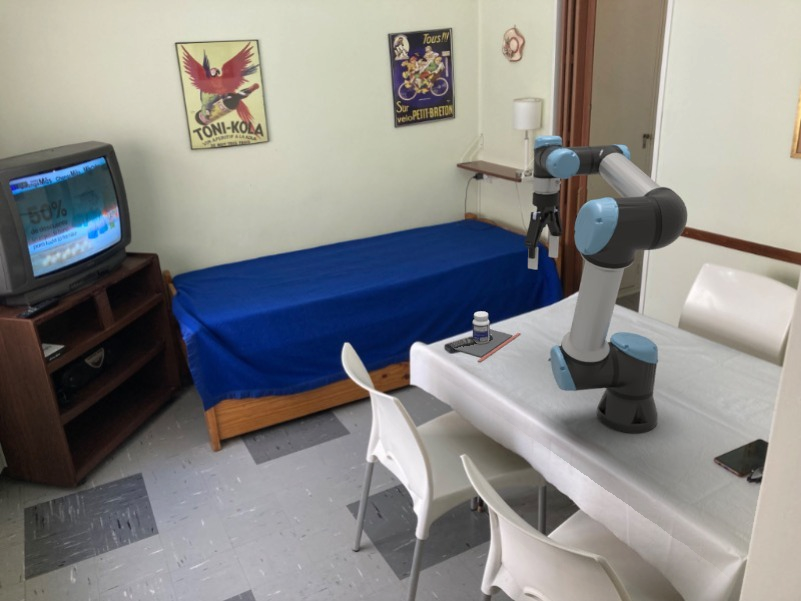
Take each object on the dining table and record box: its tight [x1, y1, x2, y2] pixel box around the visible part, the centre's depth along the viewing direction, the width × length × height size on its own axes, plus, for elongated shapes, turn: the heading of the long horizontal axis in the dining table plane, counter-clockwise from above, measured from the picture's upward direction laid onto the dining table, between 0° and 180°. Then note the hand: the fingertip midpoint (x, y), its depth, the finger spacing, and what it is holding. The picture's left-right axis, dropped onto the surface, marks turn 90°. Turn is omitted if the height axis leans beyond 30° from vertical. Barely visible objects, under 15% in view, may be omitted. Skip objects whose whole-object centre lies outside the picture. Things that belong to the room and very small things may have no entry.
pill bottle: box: [472, 310, 491, 344], centre depth 217 cm, size 6×6×10 cm
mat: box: [453, 329, 514, 359], centre depth 218 cm, size 20×11×1 cm, turn 141°
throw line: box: [477, 332, 522, 363], centre depth 214 cm, size 26×1×1 cm, turn 141°
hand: (543, 262), depth 192 cm, fingers open, 13 cm apart
